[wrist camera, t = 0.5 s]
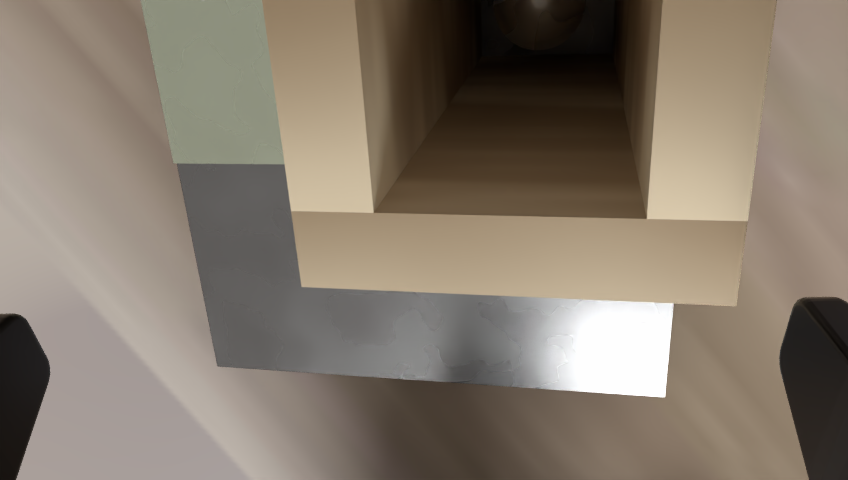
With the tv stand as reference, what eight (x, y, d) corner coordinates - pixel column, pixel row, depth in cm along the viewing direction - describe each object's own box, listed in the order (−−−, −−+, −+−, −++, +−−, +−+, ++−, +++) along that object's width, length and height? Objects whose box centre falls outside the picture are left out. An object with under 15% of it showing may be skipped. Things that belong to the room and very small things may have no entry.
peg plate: (660, 371, 25) (678, 482, 20) (234, 345, 29) (162, 435, 24) (710, -191, 19) (756, -227, 14) (144, -143, 22) (15, -158, 17)
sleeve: (654, 96, 20) (736, 306, 10) (442, 98, 21) (301, 287, 11) (672, -148, 18) (807, -235, 7) (432, -130, 19) (236, -181, 8)
